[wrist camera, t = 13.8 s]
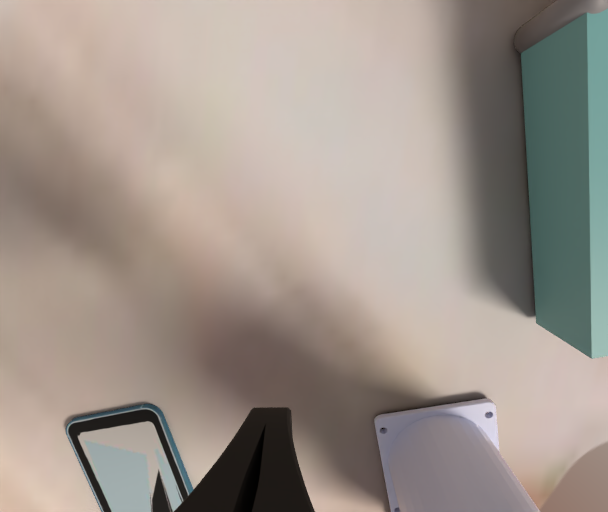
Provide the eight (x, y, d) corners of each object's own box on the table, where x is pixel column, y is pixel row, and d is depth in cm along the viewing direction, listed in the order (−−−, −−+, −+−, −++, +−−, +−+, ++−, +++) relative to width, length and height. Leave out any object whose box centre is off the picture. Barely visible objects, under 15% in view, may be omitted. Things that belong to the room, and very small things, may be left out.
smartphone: (156, 404, 22) (218, 568, 25) (163, 395, 23) (222, 554, 26) (60, 423, 22) (132, 580, 25) (70, 413, 23) (138, 566, 26)
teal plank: (512, 27, 16) (582, -27, 12) (541, 19, 16) (621, -37, 12) (531, 323, 19) (588, 362, 15) (554, 319, 19) (619, 356, 15)
